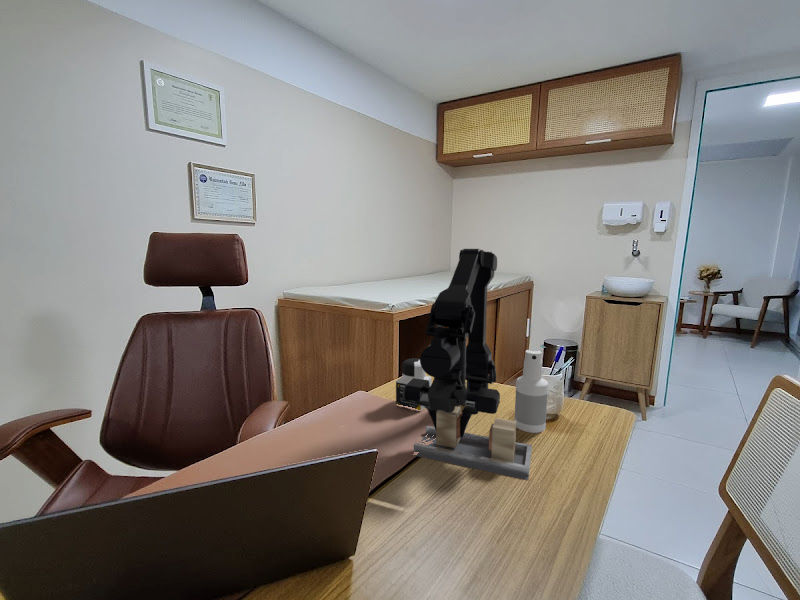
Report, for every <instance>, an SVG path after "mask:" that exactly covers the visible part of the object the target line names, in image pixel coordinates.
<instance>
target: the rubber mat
mask: <svg viewBox="0 0 800 600" xmlns="http://www.w3.org/2000/svg"><path fill="white" fill-rule="evenodd" d="M426 435H427V434H426V433H425V434H424V436H423V437H422V439H420V442H421V441H423V440H426V439H428V438H430V439H429V440H426V441H425V442H428V441H431V440H433V439H435V438H436V436H435V435H434V436H433V435H430V434H428V435H427V437H425V436H426ZM432 436H433V437H432ZM432 442H433V443H431V444H429V445H428V446H433V447H438V448H443V449H448V450H453V451H458V452H463V453H468V454H472V455H477V456H482V457H487V458H491V454H492V450H489V446H487V445H482V444H477V443H471V442H466V441H461V440H459V442H458V444H457V446H456V448H453V447H448V446H443V445H438V444H436V439H435V440H433V441H432ZM421 443H424V442H421ZM424 444H425V443H424ZM415 457H419V458H424V459H429V460H434V461H438V462H442V463H448V464H451V465H456V466H459V467H460V466H461V467H465V468H471V469H475V470H480V471H483V472H489V473H493V474H498V475H501V476H508V477H511V478H516V479H521V480H525V481H529V478H530V475H529V476H525V475H521V474H516V473H511V472H507V471H502V470H497V469H493V468H488V467H483V466H478V465H474V464H469V463H464V462H460V461H455V460H450V459H446V458H441V457H436V456H432V455H427V454H422V453H418V454H417V455H416V456H415ZM525 460H526V453H523V452H518V451H515V457H514V462H513V463H517V464H521V465H525Z"/></svg>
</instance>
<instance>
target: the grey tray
mask: <svg viewBox="0 0 800 600" xmlns="http://www.w3.org/2000/svg"><path fill="white" fill-rule="evenodd" d="M425 434H430V435H435V436H436V430H435V427H434V426H431V425H426V426H425ZM460 440H461V441H466V442H471V443H477V444H482V445H487V446H489V436H485V435H479V434H474V433H468V432H465V433H464V435H463V437H462V438H461V437H460ZM419 443H420V442H419ZM419 443H418V442H414V444H413V452H414V451H415V452H419V453H422V454H427V455H432V456H436V457H441V458H446V459H450V460H455V461H460V462H464V463H469V464H474V465H478V466H483V467H488V468H493V469H497V470H502V471H507V472H511V473H516V474H521V475H525V476H529V477H530V468H531V459H532V450H533V449H532V447H533V445H532V444H528V443H524V442H523V443H522V442H518V441H515V451H518V452H523V453H526V460H525V465H521V464H517V463H512V462H507V461H502V460H497V459H492V458H487V457H482V456H477V455H472V454H468V453H463V452H458V451H453V450H448V449H443V448H438V447H433V446H428V445H423V444H419Z"/></svg>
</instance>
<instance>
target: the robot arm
mask: <svg viewBox="0 0 800 600" xmlns="http://www.w3.org/2000/svg"><path fill="white" fill-rule="evenodd" d="M458 254H459V255H458V257H459V258H458V263H457V264H456V268H455V270H454V273H453V275H452V278H451V281H450V283H449V285H448V287H447V288H445V289H444V290H442V291H440V292H439V294H438V295H437V297H436V299H435V301H434V302H433V303H432V305H431V308H430V313H429V317H428V321H427V325H426V330H425V336H431V339H430V344H429V345H428V346H427V347H425V348H424V349H423V350H422V352H421V354H420V357H419V359H420V364H421V367H422V369H423V370H424V371H425V372H426V375H427V376H430V377H431V378H433V380H432V384H431V386H429V381H428V380H423V379H415V378H413V379H412V380H411V381H410V382H409V383H408V384H407V385H406V386H405V387H404V389H403V399H404V400H410V401H418V400H419V399H420V402H419V405H421V406H424V407H425V408H424V409H426V410H427V412H428V414H429V415H430V418H431V421H432V425H433V427H435V430H436V419H437V410H441V411H445V412H453V411H454V409H455V406H457V407H458V406H459V407H460V406H461V407H463V408H462V409H461V412H462V422H461V430H460V437H461V438H462V437H463V435H464V433H466V429H467V427H468V424H469V421H470V420H471V417H472V415H478V414H479V413H485V414H493V415H494V414H497V411H498V408H499V405H500V400H501V395H500V394H501V393H500V392H499V390H498V389H495V388H489V384H490V385H493V383H496V382H497V370H496V369H497V368H496V365H495V361H494V360H493V359H492V357H493V356H492V351H491V349H490V347H489V345H488V343H487V342H486V340H487V339H486V338H487V313H488V312H487V311H488V306H487V305H488V286H489V284H490V283H491V282H492V280H493V279H494V278H495V272H496V271H497V268H498V257H497V255H496V254H495V253H493V252H492V251H484V249H480V248H463V249H460V251H459V253H458ZM432 336H433V337H432Z"/></svg>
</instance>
